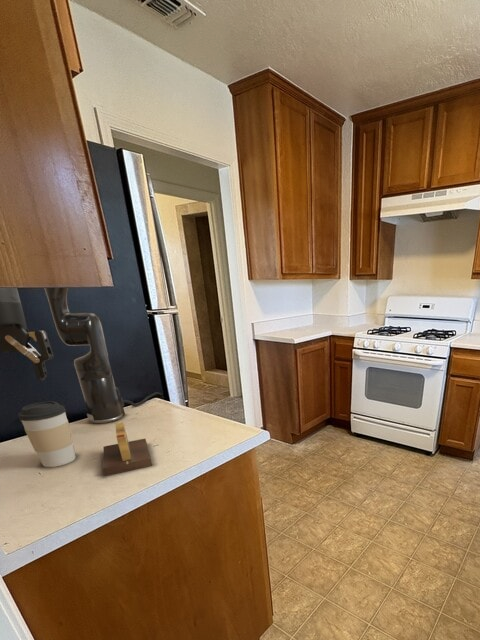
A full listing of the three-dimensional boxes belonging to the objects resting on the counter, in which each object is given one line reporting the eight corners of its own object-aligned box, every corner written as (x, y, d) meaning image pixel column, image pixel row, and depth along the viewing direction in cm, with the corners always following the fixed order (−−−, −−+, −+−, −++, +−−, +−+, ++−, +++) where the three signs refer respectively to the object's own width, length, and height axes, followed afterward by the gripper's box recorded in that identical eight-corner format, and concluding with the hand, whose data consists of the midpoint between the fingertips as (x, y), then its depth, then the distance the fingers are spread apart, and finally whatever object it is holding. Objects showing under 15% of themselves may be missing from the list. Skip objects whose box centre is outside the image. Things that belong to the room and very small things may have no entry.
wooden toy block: (121, 444, 92) (115, 422, 90) (128, 443, 93) (123, 421, 91) (122, 461, 83) (116, 437, 81) (131, 459, 84) (125, 435, 82)
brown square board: (93, 454, 92) (91, 447, 91) (157, 442, 99) (155, 435, 98) (91, 480, 79) (89, 471, 79) (164, 463, 86) (162, 455, 86)
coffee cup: (44, 456, 91) (23, 401, 85) (84, 450, 94) (67, 396, 88) (31, 472, 83) (8, 412, 78) (75, 465, 86) (56, 407, 81)
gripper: (46, 301, 76) (63, 377, 81) (-35, 301, 72) (-11, 380, 77) (28, 300, 69) (48, 382, 74) (-62, 299, 65) (-34, 386, 70)
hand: (18, 381), depth 76 cm, fingers open, 8 cm apart
